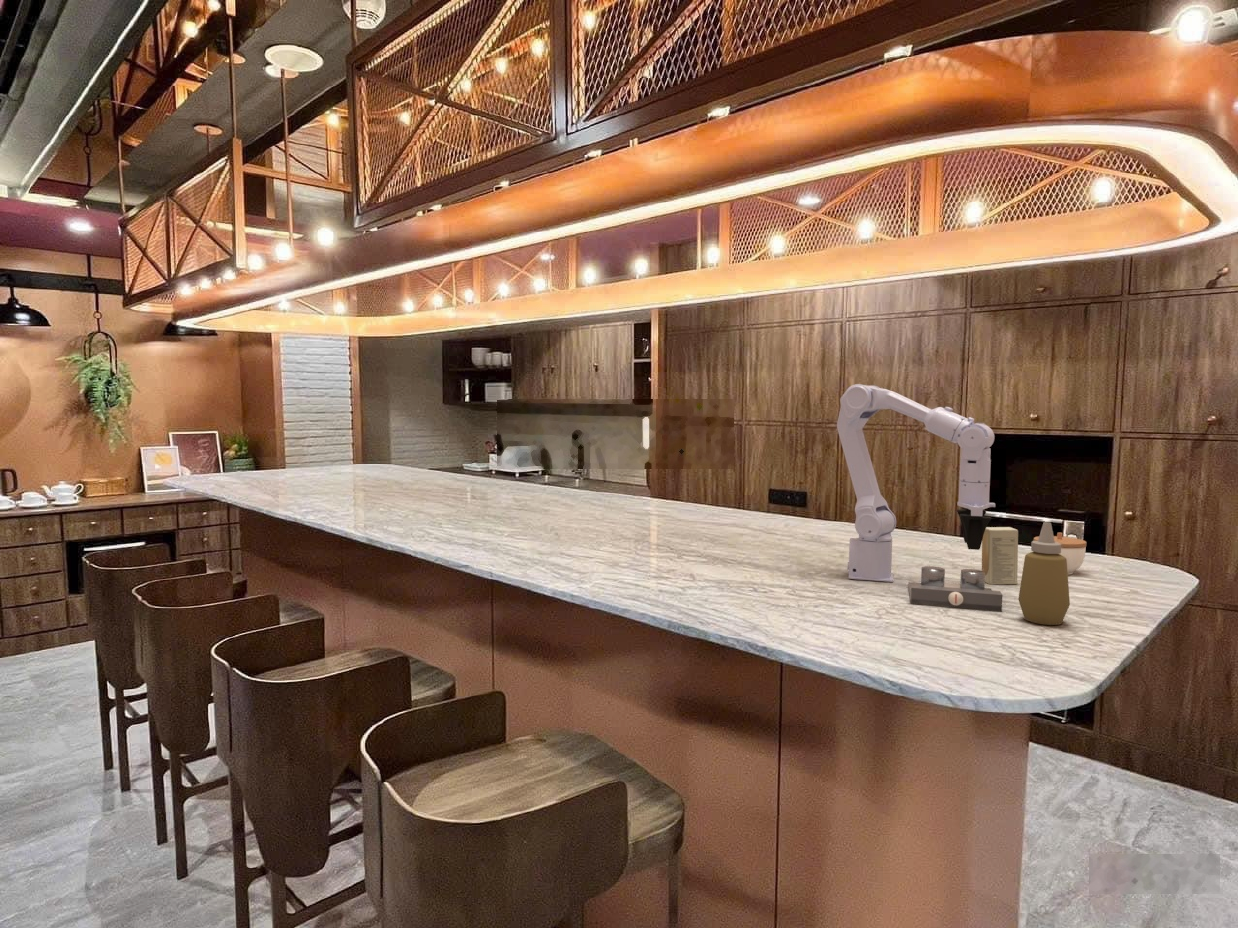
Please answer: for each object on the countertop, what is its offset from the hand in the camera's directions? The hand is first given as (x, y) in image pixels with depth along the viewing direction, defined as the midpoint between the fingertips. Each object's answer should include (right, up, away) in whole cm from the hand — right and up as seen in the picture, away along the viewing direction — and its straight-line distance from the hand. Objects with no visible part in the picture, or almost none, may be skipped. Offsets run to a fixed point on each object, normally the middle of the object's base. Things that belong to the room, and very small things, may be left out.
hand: (971, 546), depth 151 cm
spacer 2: (-2, -9, -5) cm, 10 cm away
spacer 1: (-9, -8, -2) cm, 13 cm away
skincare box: (+11, -9, +9) cm, 17 cm away
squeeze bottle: (+3, -12, -21) cm, 24 cm away
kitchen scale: (-6, -10, -5) cm, 13 cm away
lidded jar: (+31, -9, +20) cm, 38 cm away
